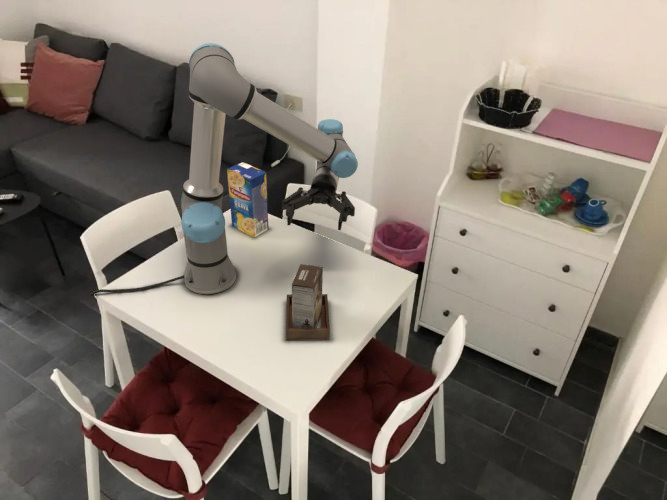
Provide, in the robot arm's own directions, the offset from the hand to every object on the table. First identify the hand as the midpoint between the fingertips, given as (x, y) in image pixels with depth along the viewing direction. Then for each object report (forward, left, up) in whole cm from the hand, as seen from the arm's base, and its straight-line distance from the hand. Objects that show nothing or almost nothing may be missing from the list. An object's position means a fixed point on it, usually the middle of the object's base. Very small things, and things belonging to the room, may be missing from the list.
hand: (314, 223), depth 143 cm
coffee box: (-2, -10, -26) cm, 28 cm away
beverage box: (-21, +37, -26) cm, 50 cm away
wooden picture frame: (-2, -10, -26) cm, 28 cm away
